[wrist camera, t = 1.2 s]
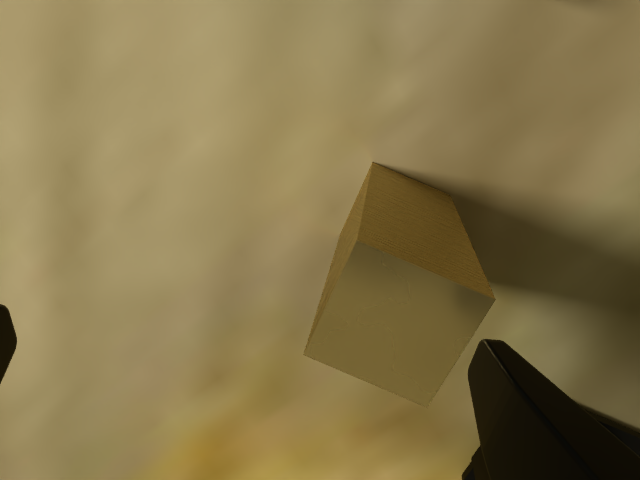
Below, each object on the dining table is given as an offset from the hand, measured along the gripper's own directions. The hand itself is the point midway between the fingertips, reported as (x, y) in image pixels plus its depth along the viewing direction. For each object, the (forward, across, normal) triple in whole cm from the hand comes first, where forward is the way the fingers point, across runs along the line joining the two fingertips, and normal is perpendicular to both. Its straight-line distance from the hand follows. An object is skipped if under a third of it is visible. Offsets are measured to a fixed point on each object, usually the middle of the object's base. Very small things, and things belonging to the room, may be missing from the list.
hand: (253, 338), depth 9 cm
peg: (+10, -5, +2) cm, 12 cm away
